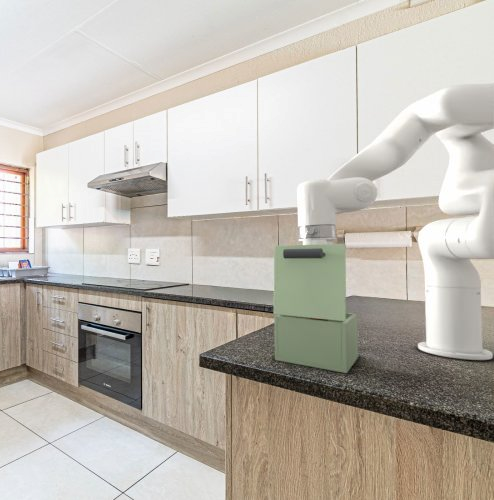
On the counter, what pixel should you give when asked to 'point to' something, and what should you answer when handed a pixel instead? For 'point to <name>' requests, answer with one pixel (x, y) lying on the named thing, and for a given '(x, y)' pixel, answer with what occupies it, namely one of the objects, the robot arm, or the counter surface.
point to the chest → (317, 342)
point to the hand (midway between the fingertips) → (319, 311)
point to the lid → (310, 281)
